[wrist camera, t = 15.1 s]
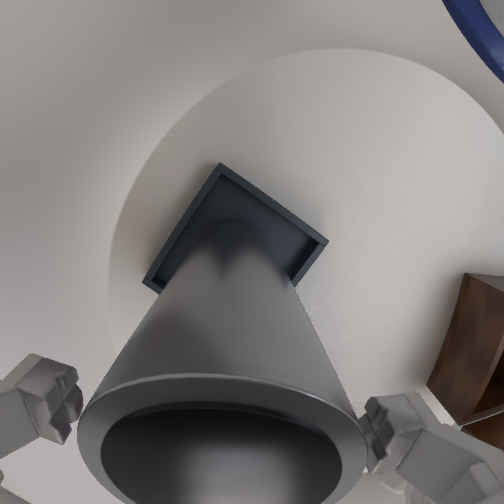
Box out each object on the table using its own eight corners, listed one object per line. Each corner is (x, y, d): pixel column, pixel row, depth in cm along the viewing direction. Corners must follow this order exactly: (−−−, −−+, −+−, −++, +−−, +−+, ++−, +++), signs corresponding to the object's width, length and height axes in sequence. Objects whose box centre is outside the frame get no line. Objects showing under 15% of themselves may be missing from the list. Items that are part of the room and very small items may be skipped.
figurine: (416, 411, 30) (481, 509, 13) (385, 452, 32) (430, 547, 14) (375, 409, 29) (438, 527, 12) (344, 452, 31) (383, 563, 14)
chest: (464, 272, 26) (515, 297, 18) (517, 278, 27) (560, 298, 19) (426, 385, 29) (458, 426, 21) (482, 375, 30) (514, 405, 22)
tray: (221, 163, 23) (219, 161, 21) (323, 236, 25) (329, 241, 23) (148, 275, 25) (141, 282, 23) (245, 337, 27) (245, 349, 25)
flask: (237, 202, 23) (218, 295, 4) (290, 261, 25) (411, 467, 5) (179, 256, 24) (37, 448, 5) (232, 310, 25) (222, 548, 6)
